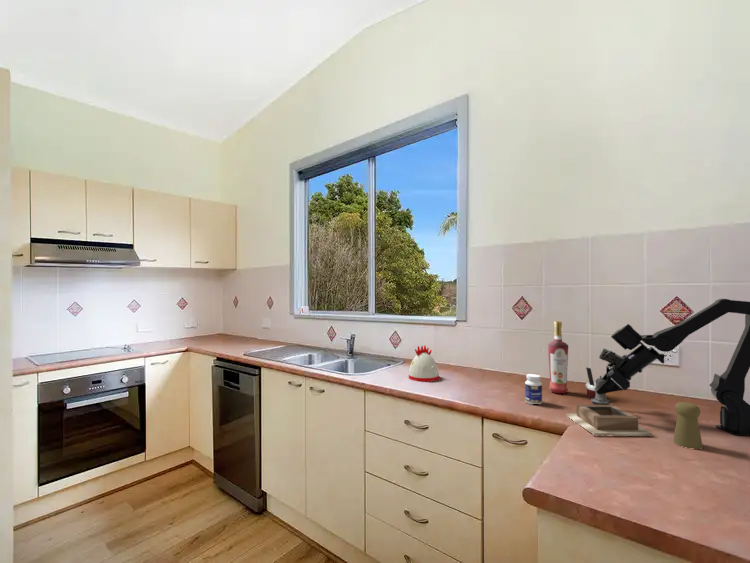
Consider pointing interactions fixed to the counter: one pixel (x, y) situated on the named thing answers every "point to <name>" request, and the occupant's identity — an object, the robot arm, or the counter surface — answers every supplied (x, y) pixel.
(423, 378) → the kitchen timer
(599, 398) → the grey chess piece
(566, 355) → the liquor
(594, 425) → the socket block
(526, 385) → the pill bottle
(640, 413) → the counter surface
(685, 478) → the counter surface
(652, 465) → the counter surface
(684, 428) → the cork
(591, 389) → the cocoa
